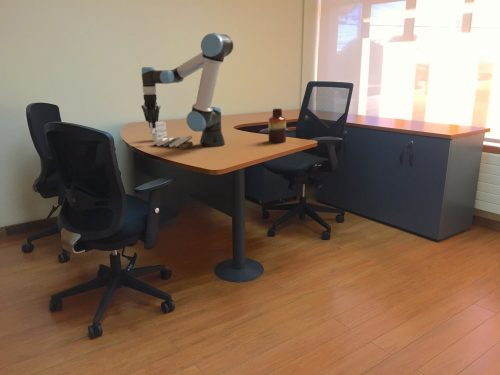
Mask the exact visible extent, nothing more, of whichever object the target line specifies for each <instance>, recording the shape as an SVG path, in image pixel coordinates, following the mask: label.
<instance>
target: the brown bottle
mask: <svg viewBox="0 0 500 375" xmlns="http://www.w3.org/2000/svg"><path fill="white" fill-rule="evenodd" d="M268 142H269V143H270V142H271V144H283V143H286V142H287V118H286V117H284V116H283V109H282V108H272V116H271V117H269V118H268Z"/></svg>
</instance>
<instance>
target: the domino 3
mask: <svg viewBox="0 0 500 375" xmlns="http://www.w3.org/2000/svg"><path fill="white" fill-rule="evenodd" d="M179 138H181V137H180V136H179V137H178V136H177V137H174V139H172V140H171V141H169V142H167V143H165V144H163V145H162V146H163V148H165V147H168V146H169V145H170V144H172V143H173V142H175V141H176V140H178V139H179ZM169 147H170V146H169Z"/></svg>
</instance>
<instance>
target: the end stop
mask: <svg viewBox="0 0 500 375" xmlns="http://www.w3.org/2000/svg"><path fill="white" fill-rule="evenodd" d="M193 146H194V144H193V141H187V142H185V143H182V144H180V146H179V150H187V149H190V148H193Z"/></svg>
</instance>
